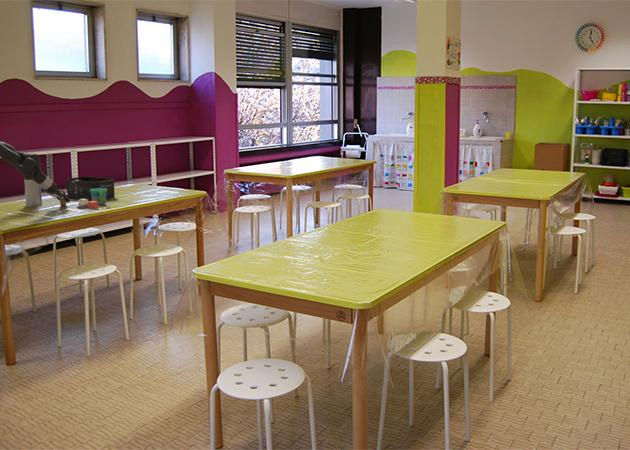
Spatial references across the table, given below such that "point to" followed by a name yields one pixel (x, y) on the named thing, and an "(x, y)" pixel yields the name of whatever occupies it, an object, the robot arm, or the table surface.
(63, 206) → the pawn
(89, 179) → the storage bin
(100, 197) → the snack cup
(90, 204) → the board
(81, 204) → the dome
